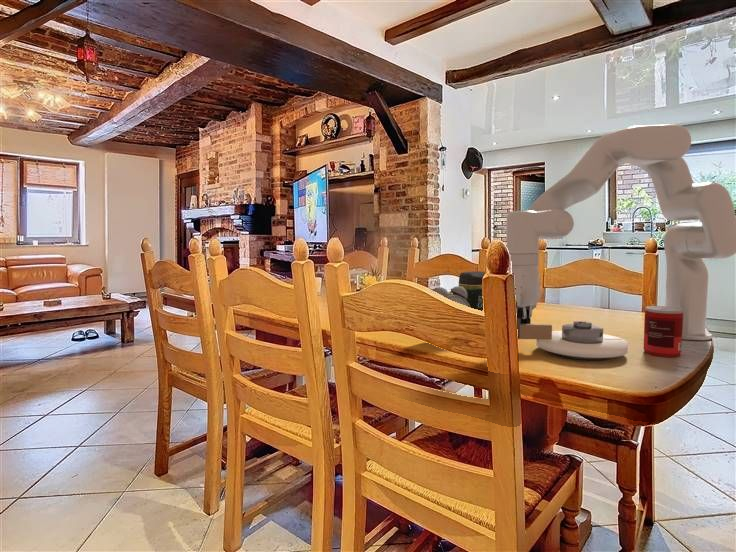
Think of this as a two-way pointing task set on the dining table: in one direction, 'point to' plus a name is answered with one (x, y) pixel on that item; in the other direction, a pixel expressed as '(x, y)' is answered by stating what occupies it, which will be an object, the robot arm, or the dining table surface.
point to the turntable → (557, 345)
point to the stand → (580, 357)
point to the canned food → (663, 331)
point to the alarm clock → (454, 294)
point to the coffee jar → (473, 288)
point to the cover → (582, 333)
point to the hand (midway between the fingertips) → (523, 333)
